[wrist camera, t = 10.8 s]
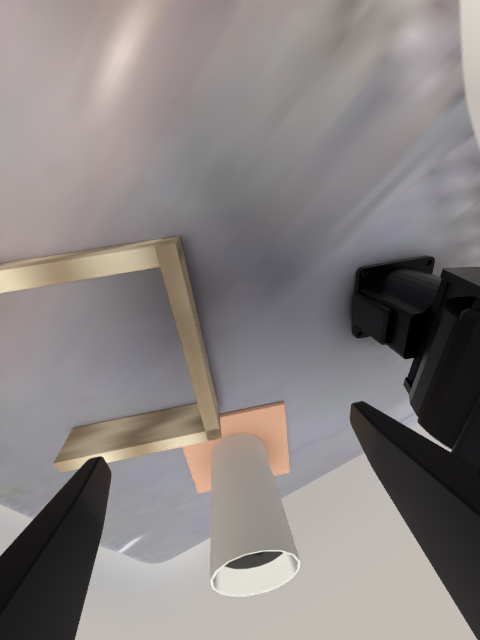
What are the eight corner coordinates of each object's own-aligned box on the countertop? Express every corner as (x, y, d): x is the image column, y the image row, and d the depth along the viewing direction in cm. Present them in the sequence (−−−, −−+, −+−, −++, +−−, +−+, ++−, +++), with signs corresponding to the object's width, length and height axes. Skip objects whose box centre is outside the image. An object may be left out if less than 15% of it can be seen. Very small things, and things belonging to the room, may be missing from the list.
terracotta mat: (283, 401, 26) (284, 404, 25) (288, 469, 30) (289, 472, 30) (175, 423, 25) (175, 426, 24) (198, 489, 30) (198, 493, 29)
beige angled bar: (179, 235, 18) (175, 243, 14) (219, 408, 25) (221, 438, 22) (-24, 267, 17) (-75, 282, 14) (78, 437, 24) (60, 472, 21)
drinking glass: (198, 441, 26) (197, 568, 17) (261, 422, 26) (292, 539, 17) (217, 479, 29) (224, 605, 20) (273, 461, 29) (306, 579, 20)
